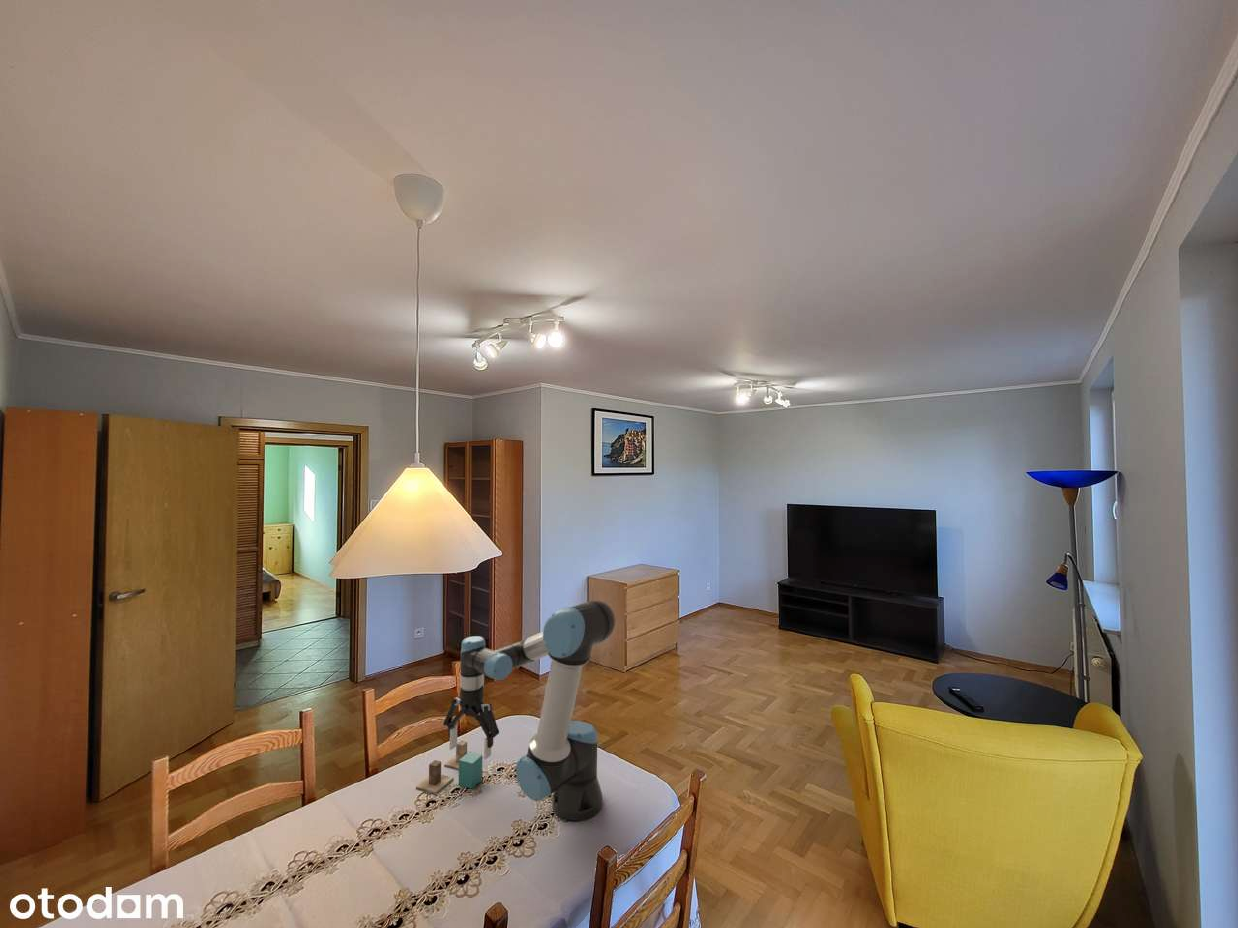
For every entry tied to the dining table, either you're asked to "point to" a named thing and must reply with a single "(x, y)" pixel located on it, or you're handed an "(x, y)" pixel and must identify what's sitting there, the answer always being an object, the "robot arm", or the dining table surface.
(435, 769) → the post
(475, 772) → the teal rectangular block
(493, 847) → the dining table surface
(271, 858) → the dining table surface
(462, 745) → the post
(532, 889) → the dining table surface
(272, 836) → the dining table surface
